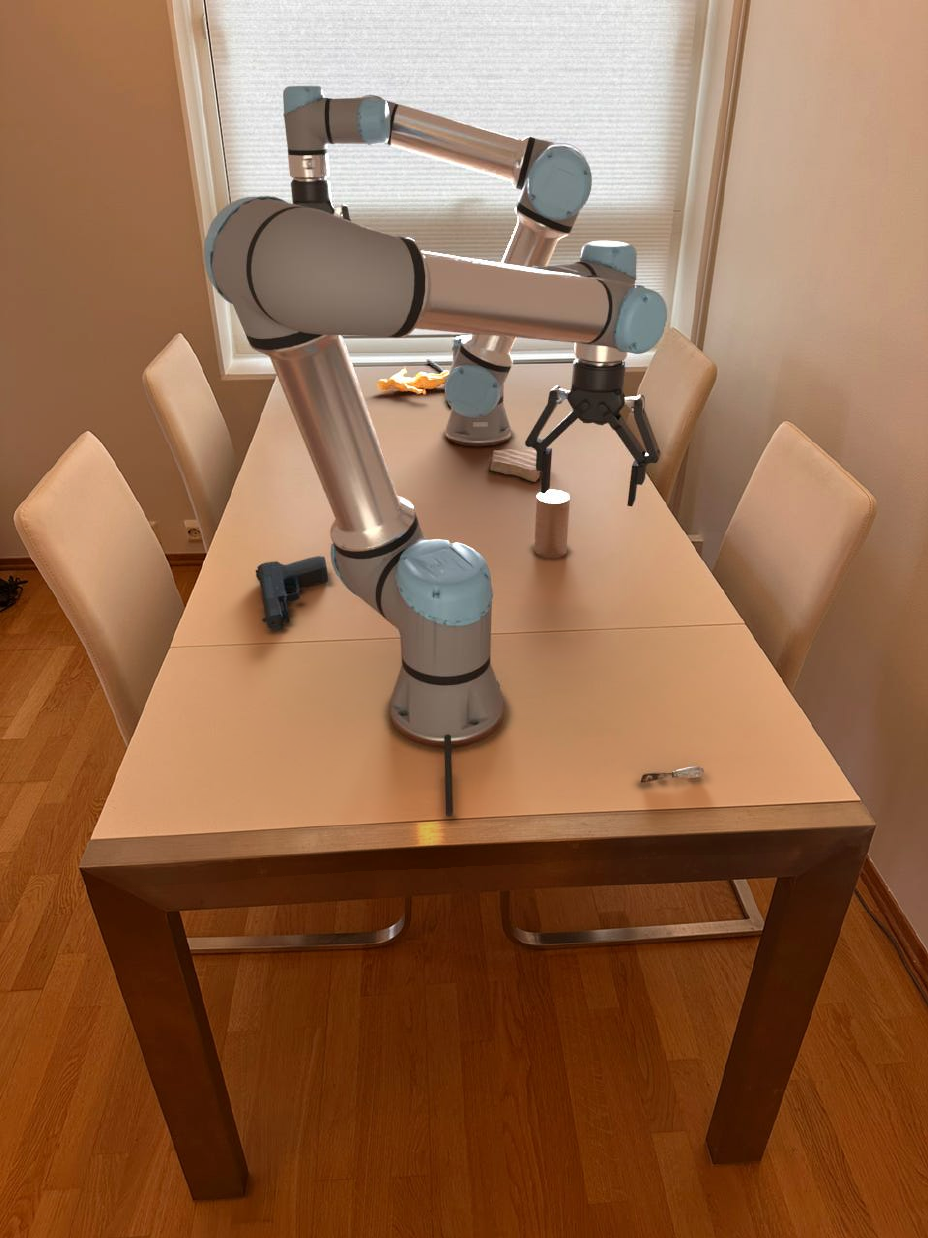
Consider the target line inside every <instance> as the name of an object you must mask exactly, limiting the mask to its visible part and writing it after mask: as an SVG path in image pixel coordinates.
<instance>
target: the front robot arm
mask: <svg viewBox="0 0 928 1238" xmlns="http://www.w3.org/2000/svg"><path fill="white" fill-rule="evenodd" d="M351 221H352V220H351ZM351 221H348V220H346V219H343V218H340V217H339V216H338V215H335V214H334V215H333V214H330V213H328V212H325V211H322V210H318V209H314V208H309V207H304V206H300V205H296V204H293V203H291V202H288V201H286V200H284V199H282V198H279V197H276V196H270V195H264V196H263V195H259V196H246V197H242V198H238V199H236V200H234V201H232V202H230V203H228V204H227V205H226V206H225V207H223V208H222V209H221V210H220V211H219V212H218V213H217V215H216V216H215V217H214V218H213V220H212V221H211V223H210V225H209V228H208V230H207V233H206V236H205V238H204V244H203V263H204V268H205V272H206V275H207V276H208V279H209V281H210V283H211V285H212V286H213V287H214V289H215V290H216V292H217V293H218V294H219V295H220V296H221V297H222V299H224V300H225V301H226V302H228V303H230V304H231V305H232V306H233V309H234V311H235V313H236V315H237V318H238V320H239V323H240V325H241V327H242V330H243V331H244V335H245V337H246V340H247V341H248V345H249V346H250V348H251V349H253V350H254V351H257V352H259V353H261V354H263V355H265V356H268V357H269V359H270V361H271V364H272V367H273V369H274V371H275V374H276V376H277V378H278V381H279V384H280V386H281V388H282V391H283V393H284V396H285V398H286V401H287V403H288V405H289V408H290V411H291V413H292V416H293V418H294V421H295V424H296V425H297V428H298V430H299V433H300V435H301V437H302V440H303V442H304V446H305V447H306V450H307V452H308V454H309V457H310V460H311V462H312V465H313V467H314V469H315V472H316V474H317V477H318V479H319V481H320V484H321V486H322V489H323V491H324V494H325V497H326V499H327V501H328V504H329V506H330V508H331V509H330V510H331V511H332V513H333V516H334V521H333V523H332V524H331V527H330V530H329V531H330V532H329V534H330V539H331V542H332V543H331V544H330V561H331V566H332V568H333V570H334V572H335V574H336V576H337V577H338V578H339V580H340V581H341V583H342V584H343V585H344V587H345V588H346V589H347V590H348V591H349V592H350V593H352V594H353V595H355V596H356V597H359V598H360V599H361V600H362V601H363V602H364V603H366V604H367V605H368V606H370V608H372V609H373V610H374V611H375V612H376V613H378V615H380V616H381V617H383V618H384V619H385V620H386V621H387V622H389V623H390V624H391V625H392V626H393V627H394V628H396V629H397V631H398V633H399V636H400V655H401V667H400V669H399V672H398V675H397V678H396V681H395V684H394V687H393V690H392V693H391V696H390V703H389V706H390V718H391V721H392V724H393V725H394V727H395V728H396V729H397V731H398V732H399V733H400V734H402V735H403V736H404V737H406V738H407V739H409V740H411V741H413V742H415V743H417V744H420V745H421V744H422V745H425V746H430V747H437V748H444V790H445V791H444V792H445V794H444V797H445V800H444V801H445V815H446V816H447V817H452V816H453V815H454V801H453V764H452V763H453V762H452V759H453V758H452V748H454V747H455V748H457V747H463V746H467V745H471V744H473V743H476V742H480V741H481V740H483V739H485V738H486V737H488V736H489V735H491V734H492V733H493V732H494V731H495V730H496V729H498V727H499V726H500V724H501V722H502V720H503V717H504V697H503V693H502V690H501V685H500V683H499V681H498V679H497V677H496V674H495V672H494V668H493V666H492V664H491V654H492V653H491V651H492V649H491V648H492V647H491V645H492V614H493V613H492V611H493V609H492V608H493V607H492V606H493V599H494V590H493V583H492V575H491V569H490V567H489V564H488V563H487V561H486V559H485V558H484V557H483V556H482V555H481V554H480V553H479V551H477V550H476V549H474V548H472V547H471V546H468V545H467V544H464V543H462V542H458V541H456V542H453V543H451V542H450V541H449V540H448V539H440V538H439V539H426V537H425V536H424V533H423V530H422V527H421V524H420V521H419V518H418V516H417V512H416V510H415V507H414V505H413V504H412V502H411V501H410V500H408V499H406V498H404V497H403V496H400V495H398V493H397V491H396V488H395V484H394V480H393V479H392V476H391V473H390V469H389V467H388V464H387V461H386V458H385V455H384V453H383V450H382V447H381V444H380V440H379V438H378V435H377V432H376V429H375V426H374V423H373V421H372V417H371V414H370V412H369V409H368V406H367V403H366V400H365V397H364V394H363V391H362V389H361V386H360V382H359V380H358V377H357V374H356V370H355V368H354V366H353V362H352V360H351V356H350V353H349V351H348V348H347V346H346V345H347V344H346V342H345V339H344V337H343V336H360V337H380V338H383V337H385V338H395V339H396V338H397V339H398V338H399V339H401V338H405V337H407V336H409V335H410V334H412V333H413V332H414V330H422V331H423V330H424V331H436V332H445V333H446V332H447V333H457V334H458V333H459V334H467V335H472V334H480V335H491V336H503V337H514V338H516V339H526V340H539V341H550V342H560V343H561V342H562V343H571V344H574V346H573V347H574V348H573V355H574V356H575V359H574V360H573V363H572V376H571V387H570V390H567V389H564V388H561V386H560V385H555V386H553V388H551V390H550V391H549V393H548V398H547V404H546V405H545V407H544V409H543V411H542V412H541V414H540V416H539V417H538V419H537V421H536V422H535V424H534V426H533V428H532V429H531V431H530V433H529V434H528V436H527V437H526V439H525V441H524V445H525V446H526V448H532V449H534V451H536V452H537V456H536V470H537V471H541V481H540V492H541V493H542V494H546V492H547V491H548V490H550V487H551V472H552V457H553V448H552V447H549V446H550V445H552V443H554V442H555V441H556V440H557V439H558V438H559V437H560V436H561V435H562V434H563V433H564V432H565V431H566V430H567V429H568V428H569V427H570V426H572V425H573V424H574V423H575V422H576V421H577V420H578V419H579V421H581V422H582V423H583V424H595V425H598V426H604V425H606V424H607V425H609V426H610V428H611V429H612V430H613V431H614V432H615V433H616V435H617V436H618V438H619V439H620V440H621V442H622V443H623V445H624V446H625V448H626V449H627V450H628V452H629V453H630V455H631V456H632V458H633V459H634V460H633V462H632V464H631V470H630V479H629V488H628V496H627V498H628V499H627V505H626V506H627V507H633V506H634V504H635V502H636V497H637V490H638V489H637V488H638V485H639V486H643V484H644V482H645V480H646V475H647V466H648V465H649V464H656V463H658V462H659V460H660V457H661V450H660V446H659V444H658V442H657V439H656V437H655V434H654V431H653V428H652V426H651V423H650V420H649V418H648V415H647V411H646V397H645V396H644V395H643V394H639V395H637V396H626V394H625V391H624V388H625V380H626V371H627V363H626V362H625V360H626V359H627V357H628V353H630V354H634V355H640V354H641V355H642V354H645V353H647V352H649V351H651V350H652V349H653V348H654V347H655V346H656V345H657V344H658V343H659V342H660V340H661V339H662V337H663V334H664V333H665V332H664V331H665V327H666V325H667V324H666V323H667V321H668V308H667V303H666V301H665V299H664V297H663V296H662V295H661V293H659V292H657V291H656V290H654V289H650V288H647V287H645V286H644V285H640V284H639V285H638V284H636V281H637V278H638V277H637V261H638V260H637V255H638V254H637V250H636V248H635V246H634V245H632V244H630V243H627V242H623V241H617V240H595V241H589V242H586V243H585V244H583V246H582V247H581V254H580V257H579V261H576V262H572V263H561V264H554V265H547V266H543V267H538V266H534V267H532V268H527V267H521V266H515V265H508V264H502V262H495V261H488V260H482V259H476V258H470V257H464V256H456V255H452V254H451V255H450V254H443V253H438V252H431V251H425V250H422V248H421V247H420V245H419V244H418V242H417V241H415V240H414V239H412V238H410V237H407V236H400V235H394V234H390V233H385V232H382V231H379V230H376V229H373V228H370V227H367V226H364V225H361V224H358V223H356V222H353V221H352V222H351ZM564 400H567V402H568V403H569V405H570V407H571V409H572V410H571V411H570V412H569V413H568V414H567V415H566V416H565V417H564V418H563V419H561V421H560V422H559V423H558V424H557V425H556V426H554V428H553V429H551V431H549V433H548V434H547V435H545V437H544V438H542V439H540V438H539V436H540V435H541V433H542V431H543V429H544V428H545V427H546V425H547V423H548V422H549V420H550V418H551V417H552V415H553V413H554V412H555V410H556V409H557V407H558V405H562V403H563V402H564ZM624 407H627V408H628V410H629V412H630V413H632V414H633V418H634V421H635V423H636V426H637V429H638V432H639V435H640V438H641V440H642V442H643V445H644V447H643V445H642V444H641V442H640V441H639V440H638V438H637V436H635V434H634V433H633V431H632V430H631V429H630V427H629V425H628V424H627V423H626V421H625V418H624V416H623V415H622V412H621V410H622V409H623V408H624ZM644 448H645V449H644Z"/></svg>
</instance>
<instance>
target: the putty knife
mask: <svg viewBox="0 0 928 1238" xmlns="http://www.w3.org/2000/svg"><path fill="white" fill-rule="evenodd" d="M704 772H705V771H704V768H702V767H701V766H697V765H695V766H688V767H683V768H679V769H675V770H673V771H671V772H653V773H652V772H651V773H650V772H649V773H644V774H642V776H641V779H640V783H642V784H645V783H648V782H653V781H659V780H665V779H668V778H673V779H674V778H675V779H693V778H694V779H695V778H700V777H702V776H703V775H704Z"/></svg>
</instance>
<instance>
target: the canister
mask: <svg viewBox="0 0 928 1238" xmlns="http://www.w3.org/2000/svg"><path fill="white" fill-rule="evenodd" d="M570 503H571V496H570V495H569V493H567V492H565V491H562V490H559V489H548V491H547V492H546V494H542V493H541V491H540V492H538V493H537V494H536V503H535V504H536V505H535V530H534V553H535V554H536V555H537V556H539V557H540V558H544V559H558V558H559V559H560V558H562V557H564V556H565V555H566V554H567V552H568V551H567V548H568V535H569V532H568V531H569V521H570V520H569V519H570Z"/></svg>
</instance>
